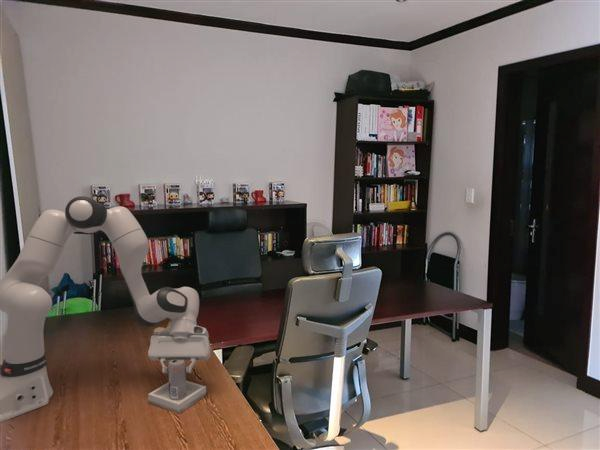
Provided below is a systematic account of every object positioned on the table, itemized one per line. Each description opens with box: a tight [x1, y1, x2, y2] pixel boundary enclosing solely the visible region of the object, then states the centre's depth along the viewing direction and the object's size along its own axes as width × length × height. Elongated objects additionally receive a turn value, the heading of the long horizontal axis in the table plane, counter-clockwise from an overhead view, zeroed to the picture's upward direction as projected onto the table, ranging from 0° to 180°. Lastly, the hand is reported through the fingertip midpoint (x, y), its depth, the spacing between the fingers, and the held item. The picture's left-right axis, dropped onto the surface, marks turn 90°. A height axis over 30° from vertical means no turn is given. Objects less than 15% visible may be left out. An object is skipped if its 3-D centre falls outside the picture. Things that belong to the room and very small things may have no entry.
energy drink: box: [167, 358, 187, 400], centre depth 150 cm, size 5×5×12 cm
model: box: [153, 320, 171, 335], centre depth 198 cm, size 3×11×8 cm, turn 162°
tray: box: [147, 379, 207, 414], centre depth 151 cm, size 13×13×3 cm
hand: (176, 372), depth 149 cm, fingers open, 6 cm apart
